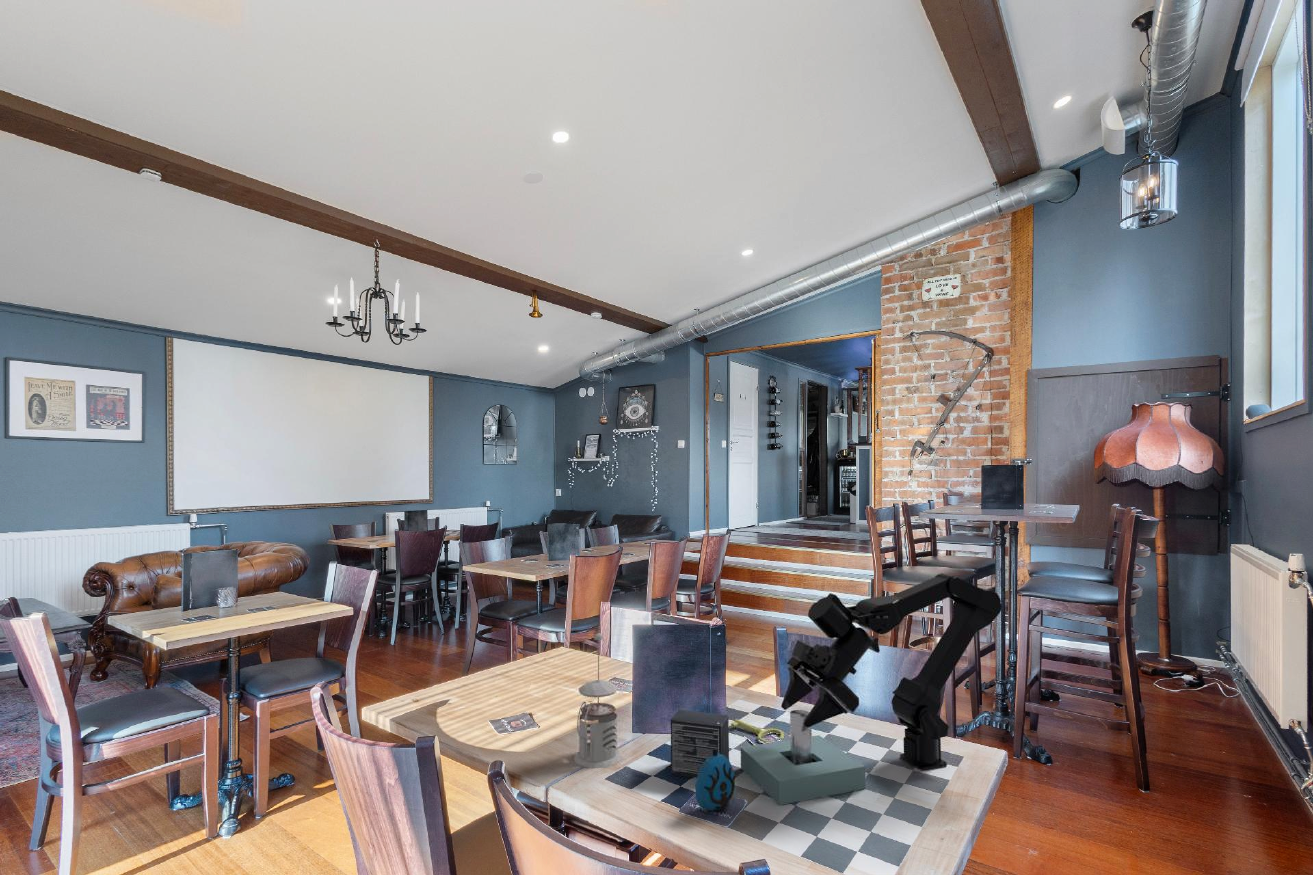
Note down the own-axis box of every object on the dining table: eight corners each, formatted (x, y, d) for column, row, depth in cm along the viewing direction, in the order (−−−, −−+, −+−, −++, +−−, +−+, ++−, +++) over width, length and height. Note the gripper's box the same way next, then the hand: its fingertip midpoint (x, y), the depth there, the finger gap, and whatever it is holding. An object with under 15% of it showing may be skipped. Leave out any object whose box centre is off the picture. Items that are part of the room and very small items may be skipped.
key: (734, 727, 148) (734, 717, 148) (787, 736, 143) (787, 726, 143) (723, 738, 141) (723, 729, 142) (778, 749, 136) (778, 739, 136)
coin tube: (811, 774, 124) (811, 710, 124) (812, 783, 120) (811, 718, 120) (790, 772, 124) (790, 708, 125) (790, 781, 121) (790, 716, 121)
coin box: (819, 754, 132) (819, 735, 132) (865, 788, 118) (865, 766, 118) (740, 768, 126) (740, 747, 126) (779, 804, 112) (779, 781, 112)
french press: (630, 751, 134) (630, 630, 135) (602, 775, 123) (603, 643, 125) (589, 743, 138) (590, 625, 139) (559, 765, 127) (560, 638, 129)
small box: (730, 768, 126) (730, 713, 127) (723, 783, 120) (722, 725, 121) (679, 760, 130) (679, 707, 130) (669, 774, 124) (669, 718, 124)
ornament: (706, 822, 107) (706, 760, 107) (689, 810, 110) (688, 750, 111) (742, 807, 111) (742, 748, 112) (724, 796, 115) (724, 739, 116)
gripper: (795, 615, 134) (746, 674, 130) (843, 637, 116) (788, 705, 112) (829, 651, 135) (782, 710, 132) (882, 678, 117) (829, 747, 114)
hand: (793, 716), depth 122 cm, fingers open, 9 cm apart
